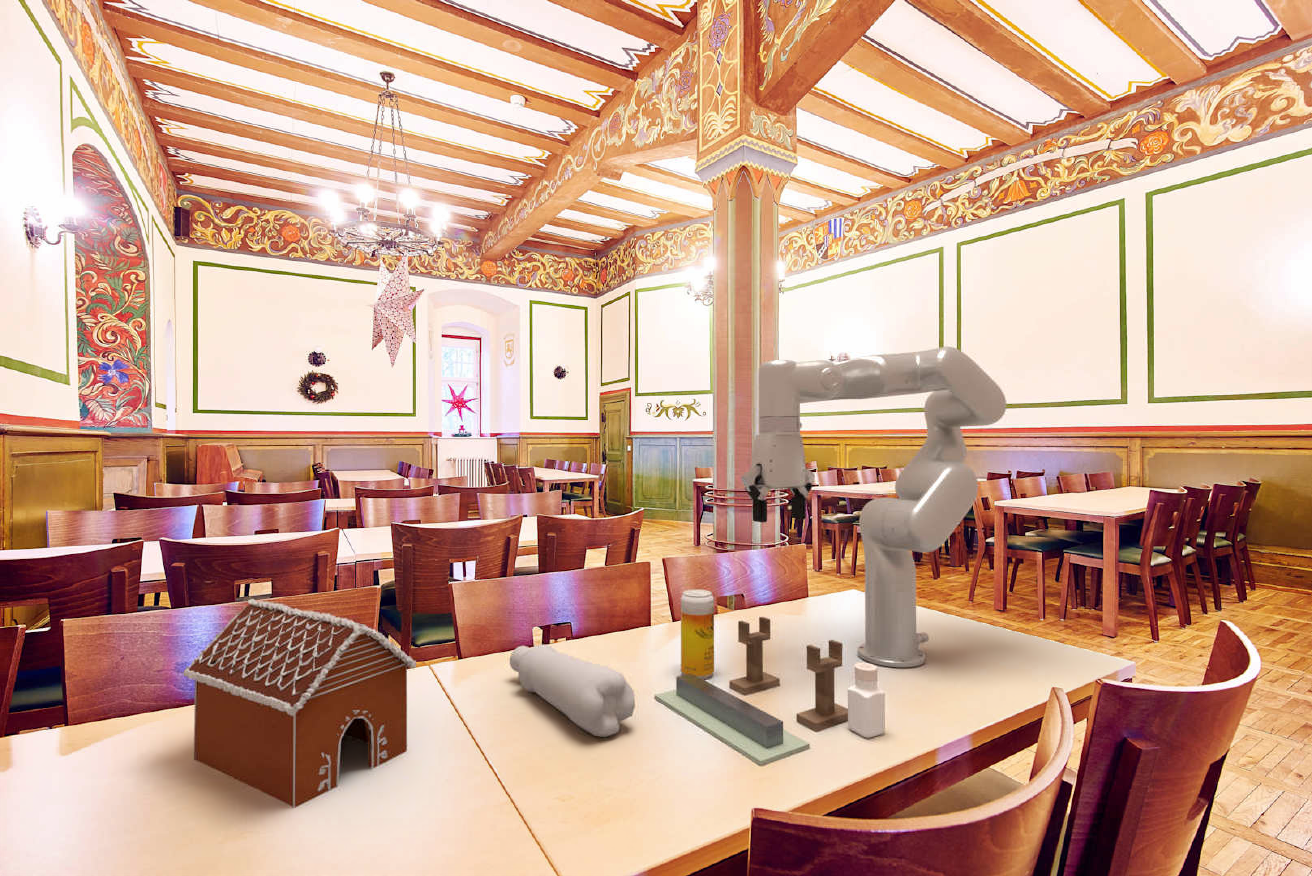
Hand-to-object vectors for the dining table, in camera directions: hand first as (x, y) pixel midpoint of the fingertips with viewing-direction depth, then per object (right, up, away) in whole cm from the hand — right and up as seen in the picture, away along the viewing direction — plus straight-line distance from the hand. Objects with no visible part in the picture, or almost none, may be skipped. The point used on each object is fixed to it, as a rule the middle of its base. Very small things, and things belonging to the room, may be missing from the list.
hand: (779, 520), depth 114 cm
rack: (-1, -28, -13) cm, 31 cm away
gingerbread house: (-71, -28, -31) cm, 82 cm away
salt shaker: (+8, -28, -24) cm, 38 cm away
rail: (-12, -27, -20) cm, 36 cm away
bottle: (-38, -28, -14) cm, 49 cm away
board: (-12, -28, -20) cm, 37 cm away
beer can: (-15, -29, -1) cm, 32 cm away
